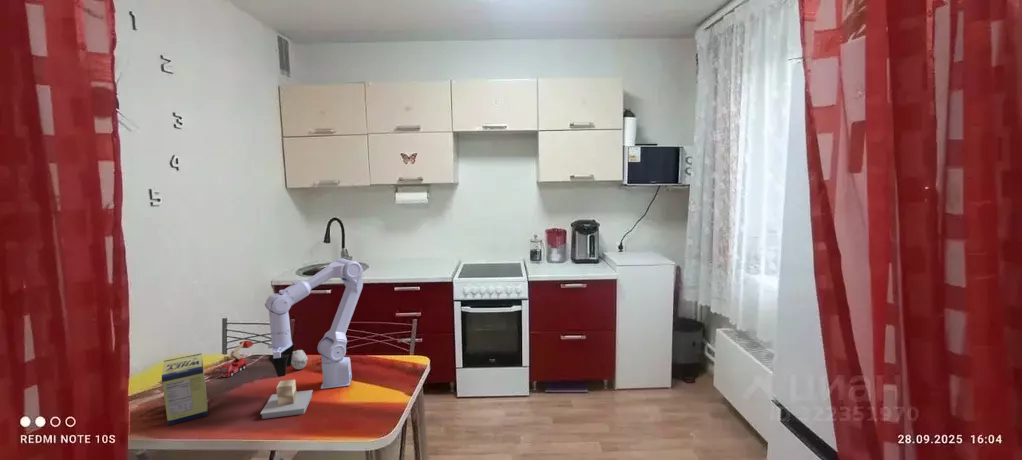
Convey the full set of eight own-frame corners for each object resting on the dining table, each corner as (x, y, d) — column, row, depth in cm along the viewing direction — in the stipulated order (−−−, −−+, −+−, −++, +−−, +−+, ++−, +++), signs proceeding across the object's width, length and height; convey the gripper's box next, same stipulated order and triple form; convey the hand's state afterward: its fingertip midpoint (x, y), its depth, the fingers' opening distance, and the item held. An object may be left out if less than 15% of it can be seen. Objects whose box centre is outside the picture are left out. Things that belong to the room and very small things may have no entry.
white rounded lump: (306, 363, 186) (304, 346, 185) (310, 369, 181) (308, 351, 180) (289, 367, 183) (287, 350, 182) (292, 373, 177) (291, 355, 176)
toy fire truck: (220, 377, 176) (217, 352, 174) (247, 362, 189) (245, 339, 188) (228, 378, 175) (225, 353, 174) (255, 363, 188) (252, 339, 187)
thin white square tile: (313, 397, 160) (312, 389, 159) (305, 415, 147) (304, 408, 147) (272, 401, 157) (272, 394, 157) (261, 421, 145) (260, 413, 145)
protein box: (207, 396, 161) (201, 352, 159) (208, 415, 148) (203, 367, 146) (169, 405, 155) (163, 360, 153) (167, 426, 143) (160, 377, 140)
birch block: (296, 396, 155) (295, 379, 154) (293, 403, 150) (291, 385, 149) (282, 398, 154) (280, 381, 153) (278, 405, 149) (276, 387, 149)
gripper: (272, 325, 160) (276, 363, 162) (260, 340, 146) (265, 382, 148) (295, 322, 161) (299, 361, 163) (285, 337, 147) (289, 379, 149)
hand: (284, 370), depth 156 cm, fingers open, 7 cm apart
